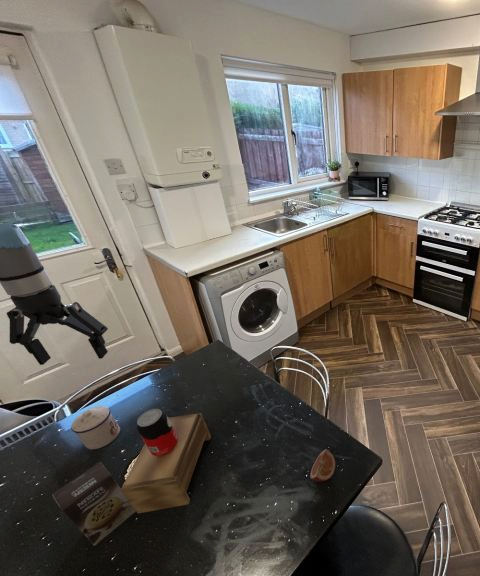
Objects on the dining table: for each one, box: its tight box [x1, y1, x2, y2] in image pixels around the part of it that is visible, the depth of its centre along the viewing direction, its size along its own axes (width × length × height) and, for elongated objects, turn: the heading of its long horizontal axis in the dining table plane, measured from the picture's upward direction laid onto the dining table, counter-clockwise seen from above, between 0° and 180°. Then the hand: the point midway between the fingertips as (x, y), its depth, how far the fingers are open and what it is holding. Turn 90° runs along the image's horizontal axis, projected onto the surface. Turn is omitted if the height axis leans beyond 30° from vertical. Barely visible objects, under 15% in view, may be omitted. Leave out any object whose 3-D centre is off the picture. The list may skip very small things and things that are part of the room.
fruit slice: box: [309, 448, 336, 483], centre depth 87 cm, size 8×7×5 cm
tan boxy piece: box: [120, 412, 212, 514], centre depth 86 cm, size 12×20×12 cm, turn 11°
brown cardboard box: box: [52, 461, 137, 546], centre depth 74 cm, size 9×6×16 cm
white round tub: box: [70, 405, 121, 450], centre depth 96 cm, size 12×9×12 cm
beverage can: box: [136, 408, 178, 456], centre depth 80 cm, size 6×6×12 cm
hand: (75, 358), depth 83 cm, fingers open, 13 cm apart
